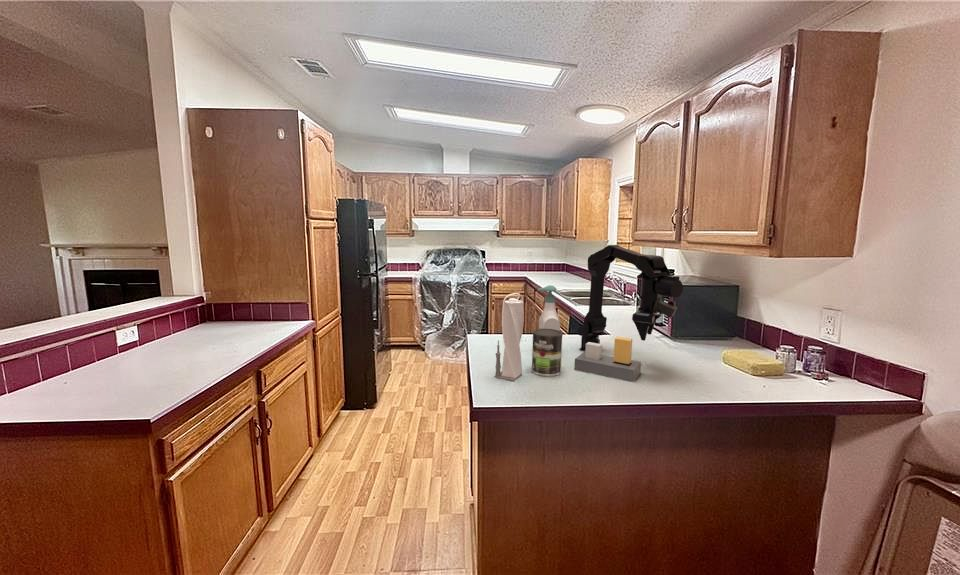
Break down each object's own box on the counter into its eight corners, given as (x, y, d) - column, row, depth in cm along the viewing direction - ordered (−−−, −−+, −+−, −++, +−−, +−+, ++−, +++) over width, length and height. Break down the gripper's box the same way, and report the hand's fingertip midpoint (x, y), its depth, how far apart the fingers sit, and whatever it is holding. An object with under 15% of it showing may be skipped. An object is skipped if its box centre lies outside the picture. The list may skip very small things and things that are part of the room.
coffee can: (556, 378, 131) (557, 337, 129) (527, 373, 136) (528, 333, 134) (564, 369, 140) (566, 330, 138) (537, 364, 145) (538, 327, 143)
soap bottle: (533, 348, 164) (535, 283, 160) (553, 348, 164) (555, 283, 160) (538, 357, 153) (539, 287, 149) (559, 357, 153) (561, 287, 149)
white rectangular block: (584, 365, 140) (585, 343, 139) (587, 363, 143) (588, 341, 142) (598, 368, 138) (599, 346, 137) (601, 365, 140) (602, 344, 139)
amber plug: (613, 361, 134) (614, 338, 133) (616, 358, 137) (617, 336, 136) (628, 364, 132) (630, 341, 130) (631, 361, 134) (632, 338, 133)
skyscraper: (505, 369, 139) (506, 291, 135) (526, 374, 135) (528, 293, 131) (494, 377, 132) (495, 295, 128) (516, 382, 128) (517, 297, 124)
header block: (574, 369, 139) (574, 358, 139) (584, 361, 147) (584, 351, 147) (633, 382, 128) (633, 370, 127) (640, 373, 136) (641, 361, 136)
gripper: (670, 299, 121) (666, 348, 124) (680, 291, 136) (676, 335, 139) (633, 295, 127) (630, 342, 130) (646, 288, 143) (643, 330, 145)
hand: (646, 337), depth 136 cm, fingers open, 9 cm apart
